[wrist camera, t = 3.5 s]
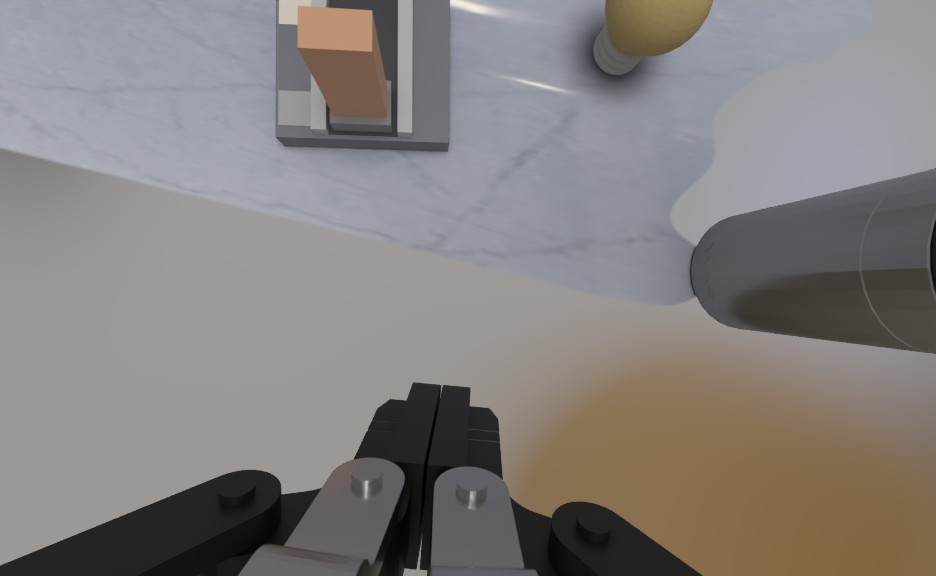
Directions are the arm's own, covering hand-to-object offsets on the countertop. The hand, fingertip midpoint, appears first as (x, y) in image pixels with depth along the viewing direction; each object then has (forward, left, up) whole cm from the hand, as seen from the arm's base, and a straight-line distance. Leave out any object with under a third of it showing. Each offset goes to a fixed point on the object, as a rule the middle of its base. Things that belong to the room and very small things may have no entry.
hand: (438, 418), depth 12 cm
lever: (+5, -16, -20) cm, 26 cm away
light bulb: (-14, -22, -23) cm, 35 cm away
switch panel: (+5, -19, -23) cm, 30 cm away
